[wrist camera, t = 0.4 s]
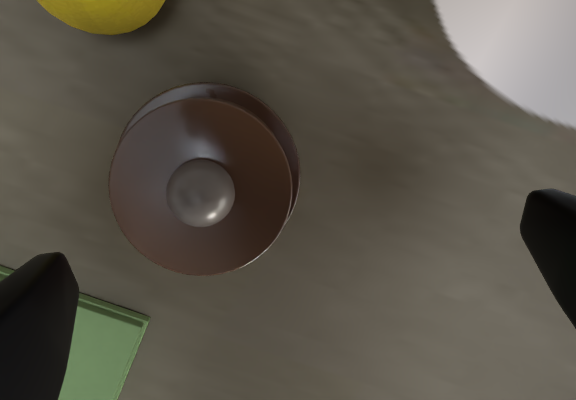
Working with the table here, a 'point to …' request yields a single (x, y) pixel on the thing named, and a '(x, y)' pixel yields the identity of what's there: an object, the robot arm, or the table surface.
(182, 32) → the table surface
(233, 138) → the pepper mill
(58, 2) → the lemon
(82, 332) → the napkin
